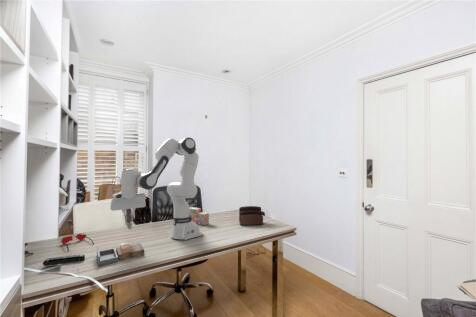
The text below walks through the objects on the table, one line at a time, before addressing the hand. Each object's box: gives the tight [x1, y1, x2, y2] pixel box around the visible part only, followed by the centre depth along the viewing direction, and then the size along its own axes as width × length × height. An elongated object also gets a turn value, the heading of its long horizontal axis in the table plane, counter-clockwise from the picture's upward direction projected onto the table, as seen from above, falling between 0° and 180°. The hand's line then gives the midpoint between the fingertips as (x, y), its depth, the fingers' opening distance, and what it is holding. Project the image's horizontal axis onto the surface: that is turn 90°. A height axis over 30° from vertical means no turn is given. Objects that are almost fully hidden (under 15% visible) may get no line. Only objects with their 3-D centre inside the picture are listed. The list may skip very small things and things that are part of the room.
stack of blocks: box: [189, 206, 210, 226], centre depth 196 cm, size 21×6×12 cm, turn 57°
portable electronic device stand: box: [42, 254, 86, 267], centre depth 119 cm, size 18×3×3 cm, turn 110°
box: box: [96, 246, 119, 267], centre depth 123 cm, size 9×15×5 cm, turn 35°
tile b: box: [122, 244, 131, 253], centre depth 126 cm, size 4×4×2 cm
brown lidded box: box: [238, 205, 264, 226], centre depth 195 cm, size 10×20×14 cm, turn 94°
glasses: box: [60, 232, 95, 252], centre depth 144 cm, size 14×16×5 cm
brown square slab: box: [115, 242, 145, 261], centre depth 130 cm, size 13×12×3 cm
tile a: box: [119, 241, 130, 250], centre depth 131 cm, size 4×4×2 cm
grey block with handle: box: [124, 209, 133, 230], centre depth 143 cm, size 2×14×11 cm, turn 34°
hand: (128, 215), depth 143 cm, fingers closed on grey block with handle, 2 cm apart
